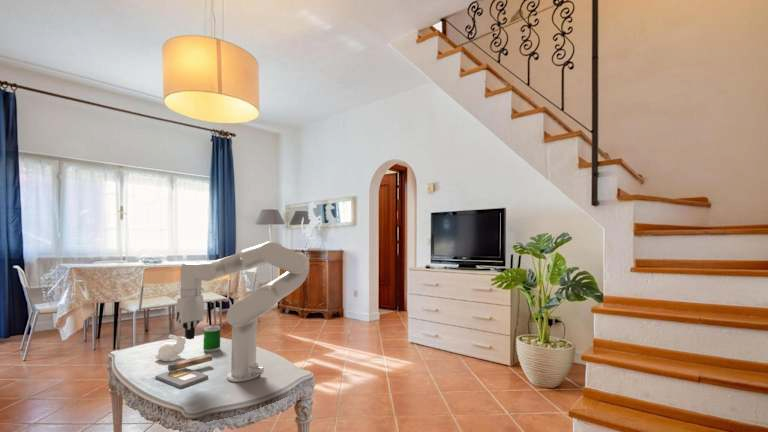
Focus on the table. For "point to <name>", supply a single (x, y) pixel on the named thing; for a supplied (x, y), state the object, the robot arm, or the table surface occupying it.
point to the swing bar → (189, 362)
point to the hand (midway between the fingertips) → (189, 338)
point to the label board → (181, 377)
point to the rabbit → (171, 349)
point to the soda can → (212, 338)
